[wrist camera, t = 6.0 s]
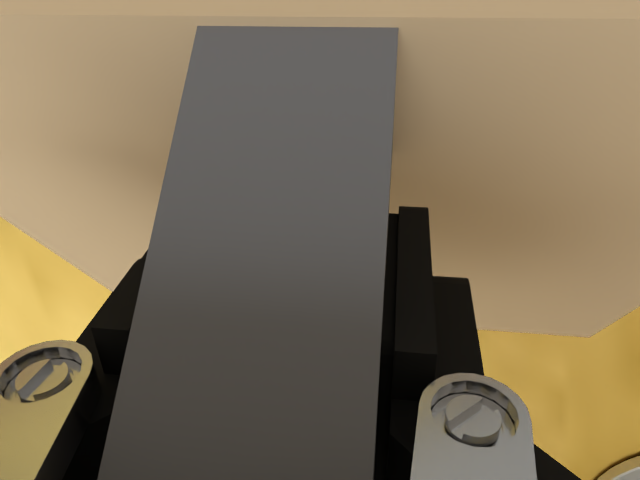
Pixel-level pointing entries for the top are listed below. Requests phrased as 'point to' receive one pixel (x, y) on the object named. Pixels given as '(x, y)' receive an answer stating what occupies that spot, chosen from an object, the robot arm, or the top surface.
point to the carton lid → (315, 196)
